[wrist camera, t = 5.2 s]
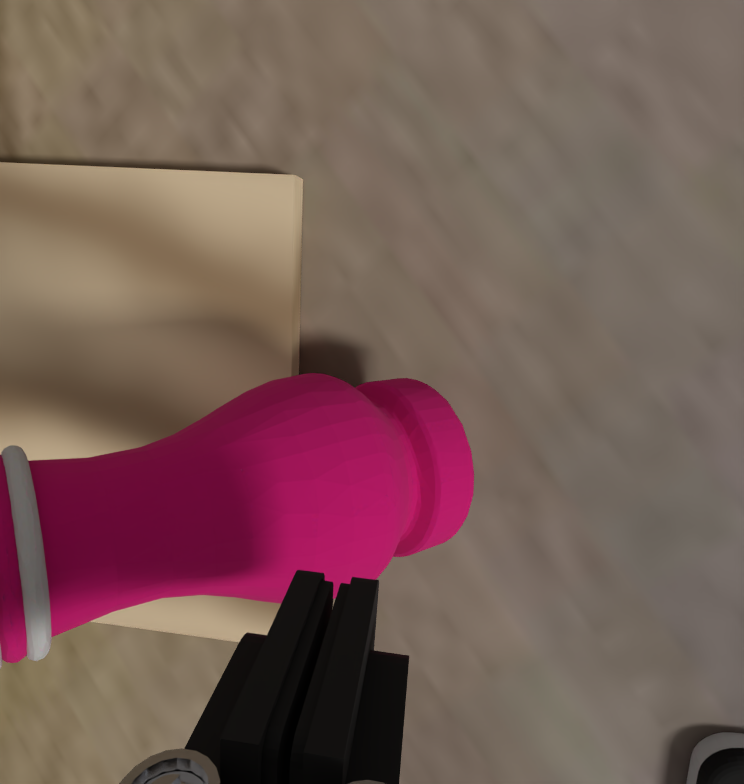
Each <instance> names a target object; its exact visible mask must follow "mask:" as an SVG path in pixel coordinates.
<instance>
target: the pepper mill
mask: <svg viewBox="0 0 744 784" xmlns="http://www.w3.org/2000/svg"><path fill="white" fill-rule="evenodd" d="M473 488H474V470H473V462H472V454H471V449H470V446H469V443H468V440H467V437H466V434H465V431H464V428H463V425H462V424H461V422H460V420H459V419H458V417H457V416H456V414H455V412H454V411H453V409H452V408H451V406H450V404H449V403H448V401H447V400H446V399H445V398H443V397H442V396H441V395H440V394H439V393H438V392H437V391H436V390H434V389H433V388H432V387H430V386H429V385H427V384H425V383H422V382H420V381H418V380H413V379H408V378H402V379H391V380H382V381H374V382H366V383H363V384H360V385H358V386H357V387H355V388H354V387H353V386H351V385H350V384H348V383H347V382H345V381H343V380H340V379H338V378H336V377H332V376H329V375H326V374H319V373H308V374H301V375H296V376H291V377H286V378H281V379H276V380H272V381H269V382H267V383H265V384H262V385H260V386H258V387H255V388H253V389H251V390H248V391H246V392H244V393H243V394H241V395H239V396H238V397H236V398H234V399H232V400H231V401H229V402H227V403H226V404H224V405H222V406H221V407H219V408H217V409H216V410H214V411H213V412H211V413H209V414H208V415H206V416H205V417H203V418H202V419H200V420H198V421H196V422H195V423H193V424H191V425H189V426H187V427H186V428H184V429H182V430H180V431H179V432H177V433H175V434H173V435H171V436H168V437H165V438H163V439H160V440H158V441H155V442H152V443H150V444H147V445H145V446H142V447H138V448H133V449H129V450H124V451H119V452H114V453H109V454H104V455H99V456H94V457H89V458H71V459H50V460H30V461H28V459H27V456H26V454H25V452H24V451H23V449H22V448H21V447H19V446H14V445H10V446H8V447H6V448H4V450H3V451H2V452H1V455H0V668H1V666H2V660H4V661H6V662H9V663H15V662H19V661H20V660H21V659H23V658H24V657H25V656H27V657H28V658H29V659H30V660H34V661H38V660H40V659H42V658H44V657H45V656H46V655H47V654H48V652H49V650H50V646H51V637H53V636H55V635H58V634H60V633H63V632H65V631H67V630H70V629H72V628H75V627H77V626H80V625H82V624H85V623H87V622H89V621H92V620H94V619H97V618H99V617H102V616H104V615H107V614H109V613H111V612H114V611H117V610H121V609H125V608H128V607H132V606H136V605H139V604H143V603H146V602H150V601H154V600H157V599H161V598H171V597H184V596H196V595H208V596H222V597H235V598H242V599H249V600H255V601H263V602H271V603H280V604H281V603H282V601H283V599H284V597H285V595H286V592H287V590H288V588H289V586H290V584H291V581H292V579H293V577H294V575H295V573H296V571H297V570H305V571H312V572H320V573H324V575H325V581H331V582H333V585H334V587H333V599H334V598H336V596H337V593H338V590H339V587H340V584H341V583H346V584H350V582H351V579H352V577H358V578H366V579H374V580H375V579H377V578H378V576H379V575H380V574H381V573H382V572H383V570H384V569H385V568H386V567H387V565H388V564H389V562H390V560H391V559H392V557H393V556H394V557H403V556H409V555H411V554H414V553H417V552H420V551H422V550H425V549H428V548H431V547H433V546H436V545H439V544H441V543H444V542H446V541H447V540H449V539H450V538H451V537H453V536H454V535H455V534H456V533H457V531H458V530H459V529H460V527H461V526H462V524H463V522H464V521H465V519H466V517H467V515H468V511H469V508H470V504H471V501H472V497H473Z"/></svg>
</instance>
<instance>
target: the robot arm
mask: <svg viewBox="0 0 744 784" xmlns="http://www.w3.org/2000/svg"><path fill="white" fill-rule="evenodd" d="M333 587H334V585H333V582H331V581H325V575H324V573H320V572H312V571H305V570H297V571H296V573H295V575H294V577H293V579H292V581H291V584H290V586H289V588H288V590H287V592H286V595H285V597H284V599H283V601H282V603H281V606H280V608H279V610H278V612H277V614H276V617H275V619H274V621H273V623H272V625H271V628H270V630H269V632H268V634H267V635H262V634H255V633H248V632H247V633H246V634H244V636H243V637H242V639H241V640H240V642H239V644H238V646H237V648H236V650H235V652H234V654H233V656H232V658H231V660H230V661H229V663H228V665H227V667H226V669H225V671H224V673H223V675H222V677H221V679H220V681H219V683H218V685H217V687H216V689H215V690H214V692H213V694H212V696H211V698H210V700H209V702H208V704H207V706H206V708H205V710H204V712H203V714H202V716H201V718H200V719H199V721H198V723H197V725H196V727H195V729H194V731H193V733H192V735H191V737H190V739H189V741H188V743H187V745H186V747H185V749H174V750H166V751H163V752H161V753H158V754H156V755H153V756H150V757H149V758H147V759H146V760H144V761H143V762H141V763H140V764H138V765H137V766H135V767H134V768H133V769H132V770H131V771H130V772H129V773H128V774H127V775H126V776H125V777H124V778H123V779H122V781H121V782H120V783H119V784H399V776H400V764H401V751H402V739H403V726H404V714H405V701H406V689H407V676H408V663H409V656H407V655H400V654H394V653H387V652H380V651H374V640H375V627H376V614H377V601H378V588H379V580H374V579H366V578H358V577H352V579H351V582H350V584H346V583H341V584H340V587H339V590H338V593H337V596H336V600H335V603H334V606H333ZM332 607H333V610H332Z"/></svg>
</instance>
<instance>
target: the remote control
mask: <svg viewBox="0 0 744 784" xmlns="http://www.w3.org/2000/svg"><path fill="white" fill-rule="evenodd" d="M686 784H744V733H734V732H721V733H716V734H712V735H710V736H708V737H706V738H704V739H703V740H701V741H700V742H699V743H698V744H697V745H696V746H695V748H694V749H693V752H692V755H691V759H690V765H689V770H688V776H687V782H686Z"/></svg>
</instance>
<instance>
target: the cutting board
mask: <svg viewBox="0 0 744 784" xmlns="http://www.w3.org/2000/svg"><path fill="white" fill-rule="evenodd" d="M302 201H303V179H301V178H299V177H298V176H296V175H284V174H261V173H238V172H214V171H191V170H168V169H144V168H121V167H98V166H74V165H51V164H28V163H5V162H0V455H1V452H2V451H3V450H4V448H6V447H8V446H10V445H14V446H19V447H21V448H22V449H23V451H24V452H25V454H26V456H27V459H28V461H30V460H50V459H71V458H89V457H94V456H99V455H104V454H109V453H114V452H119V451H124V450H129V449H133V448H138V447H142V446H145V445H147V444H150V443H152V442H155V441H158V440H160V439H163V438H165V437H168V436H171V435H173V434H175V433H177V432H179V431H180V430H182V429H184V428H186V427H187V426H189V425H191V424H193V423H195V422H196V421H198V420H200V419H202V418H203V417H205V416H206V415H208V414H209V413H211V412H213V411H214V410H216V409H217V408H219V407H221V406H222V405H224V404H226V403H227V402H229V401H231V400H232V399H234V398H236V397H238V396H239V395H241V394H243V393H244V392H246V391H248V390H251V389H253V388H255V387H258V386H260V385H262V384H265V383H267V382H269V381H272V380H276V379H281V378H286V377H291V376H296V375H299V347H300V298H301V249H302ZM280 606H281V604H280V603H271V602H263V601H255V600H249V599H242V598H235V597H222V596H208V595H196V596H184V597H171V598H161V599H157V600H154V601H150V602H146V603H143V604H139V605H136V606H132V607H128V608H125V609H121V610H117V611H114V612H111V613H109V614H107V615H104V616H102V617H99V618H97V619H94V620H92V621H90V622H97V623H104V624H112V625H119V626H126V627H133V628H141V629H148V630H155V631H162V632H170V633H177V634H184V635H191V636H199V637H206V638H213V639H220V640H228V641H235V642H240V640H241V639H242V637H243V636H244V634H246V633H247V632H248V633H255V634H262V635H267V634H268V632H269V630H270V628H271V625H272V623H273V621H274V619H275V617H276V614H277V612H278V610H279V608H280Z"/></svg>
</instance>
